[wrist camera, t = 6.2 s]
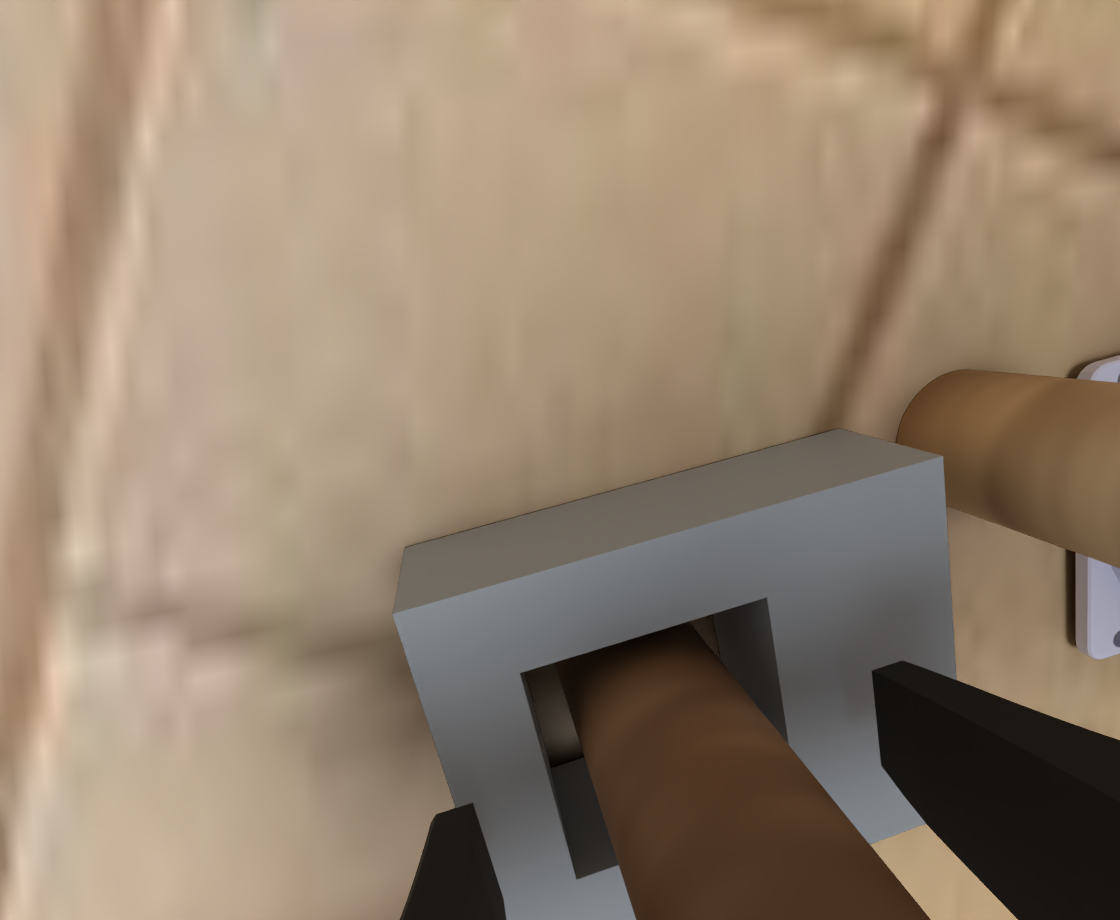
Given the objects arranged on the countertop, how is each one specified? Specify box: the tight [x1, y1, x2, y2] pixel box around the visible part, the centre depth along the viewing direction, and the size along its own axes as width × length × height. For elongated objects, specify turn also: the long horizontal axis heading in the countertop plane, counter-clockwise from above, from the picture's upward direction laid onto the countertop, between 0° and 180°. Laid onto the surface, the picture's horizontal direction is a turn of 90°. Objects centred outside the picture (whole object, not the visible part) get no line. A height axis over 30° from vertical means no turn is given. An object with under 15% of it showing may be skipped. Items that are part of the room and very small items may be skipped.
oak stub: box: [896, 370, 1120, 568], centre depth 12 cm, size 3×3×5 cm
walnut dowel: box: [556, 621, 930, 920], centre depth 10 cm, size 3×3×8 cm
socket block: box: [392, 429, 957, 920], centre depth 13 cm, size 10×8×3 cm
